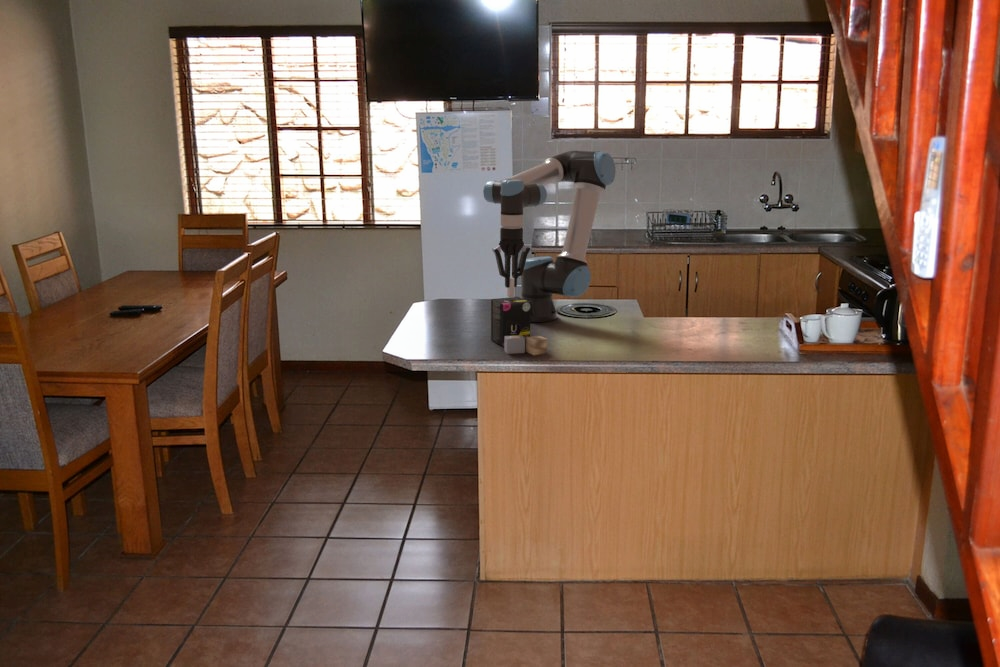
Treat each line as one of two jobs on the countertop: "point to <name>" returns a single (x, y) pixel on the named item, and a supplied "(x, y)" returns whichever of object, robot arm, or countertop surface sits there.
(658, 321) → the countertop surface
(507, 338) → the light grey block
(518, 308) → the tampon box
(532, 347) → the beech cube
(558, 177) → the robot arm
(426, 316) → the countertop surface
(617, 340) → the countertop surface
